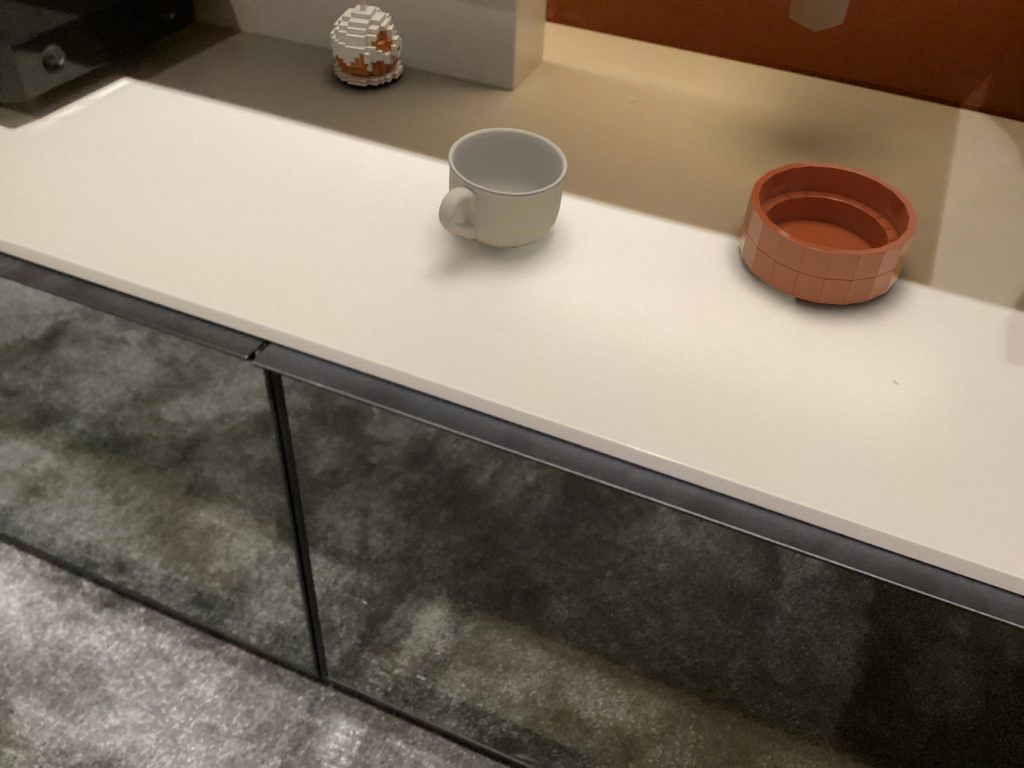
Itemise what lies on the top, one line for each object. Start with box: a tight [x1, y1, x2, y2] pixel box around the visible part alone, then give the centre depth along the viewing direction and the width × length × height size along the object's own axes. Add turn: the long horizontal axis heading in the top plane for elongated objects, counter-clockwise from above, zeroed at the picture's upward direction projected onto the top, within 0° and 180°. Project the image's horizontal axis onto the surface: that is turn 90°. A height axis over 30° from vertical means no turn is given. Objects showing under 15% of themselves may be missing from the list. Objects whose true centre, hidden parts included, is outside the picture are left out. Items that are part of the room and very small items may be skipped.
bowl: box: [739, 161, 918, 306], centre depth 88 cm, size 14×14×6 cm
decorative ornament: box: [329, 0, 404, 87], centre depth 108 cm, size 8×8×15 cm
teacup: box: [438, 127, 569, 249], centre depth 89 cm, size 14×11×8 cm
